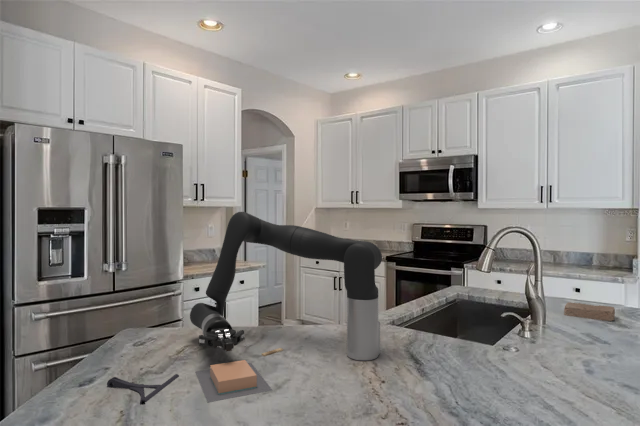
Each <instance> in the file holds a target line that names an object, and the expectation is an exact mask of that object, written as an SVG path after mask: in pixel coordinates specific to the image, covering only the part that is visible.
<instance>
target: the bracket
mask: <svg viewBox="0 0 640 426" xmlns="http://www.w3.org/2000/svg"><path fill="white" fill-rule="evenodd" d="M179 377H180V375H179V374H178V373H175V374H174V375H172V376H171V377H170V378H169V379H167V380H166V381H164V382H163V383H162V384H143V383H142V384H141V383H140V384H139V383H135V382H130V381H126V380H124V379H121V378H118V377H116V376H114V377H112V378H109V379H108V381H107V382H106V387H107V388H114V389H115V388H116V389H128V390H132V391H134V392H137V394H139V395H140V400H139V404H140V405H142V404H144V403H147V402H148V401H150V400H151V399H152V398H153V397H155V396H157V394H158V393H160V392H161V391H162V390H163V389H165V388H166V387H167V386H168V385H170V384H172V383H173V382H174V381H175V380H177V378H179ZM145 389H153V391H151V392H150V393H149V394H148V395H145Z"/></svg>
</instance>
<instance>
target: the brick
mask: <svg viewBox="0 0 640 426" xmlns="http://www.w3.org/2000/svg"><path fill="white" fill-rule="evenodd" d="M563 311H564V312H563V315H564V316H568V317H576V318H583V319H589V320H590V319H591V320H596V321H597V320H598V321H610V322H611V321H614V320H615V317H616V314H615V313H616V309H615V306H608V305H594V304H586V303H580V302H579V303H578V302H566V304H565V305H564V308H563Z"/></svg>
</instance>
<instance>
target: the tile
mask: <svg viewBox="0 0 640 426" xmlns="http://www.w3.org/2000/svg"><path fill="white" fill-rule="evenodd" d="M209 369H210V378H211V380H212V382H213V384H214V386H215V388H216V390H217V392H218V394H219V395H220V394H225V393H231V392H236V391H242V390H247V389H253V388H257V375H256V374H255V372H254V371H253V370H252V368H251V367H250V366H249V364H248V361H246V359H243V360H235V361H229V362H223V363H216V364H211V365H209Z"/></svg>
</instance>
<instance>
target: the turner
mask: <svg viewBox="0 0 640 426" xmlns="http://www.w3.org/2000/svg"><path fill="white" fill-rule="evenodd" d="M283 351H284V348H282V347H279V348H275V349H273V350H269V351H265V352H262V353H261V356H263V357H267V356H270V355H274V354H277V353H279V352H283Z"/></svg>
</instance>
